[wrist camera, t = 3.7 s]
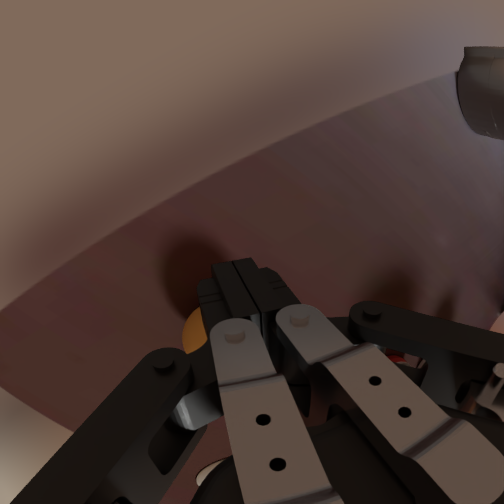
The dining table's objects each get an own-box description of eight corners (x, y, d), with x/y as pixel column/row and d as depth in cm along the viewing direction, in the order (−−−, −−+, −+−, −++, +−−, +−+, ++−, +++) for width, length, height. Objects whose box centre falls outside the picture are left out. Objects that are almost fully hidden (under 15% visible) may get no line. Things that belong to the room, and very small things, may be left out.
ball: (173, 294, 23) (179, 340, 19) (243, 282, 24) (265, 323, 20) (185, 348, 26) (194, 395, 21) (247, 335, 27) (266, 379, 22)
